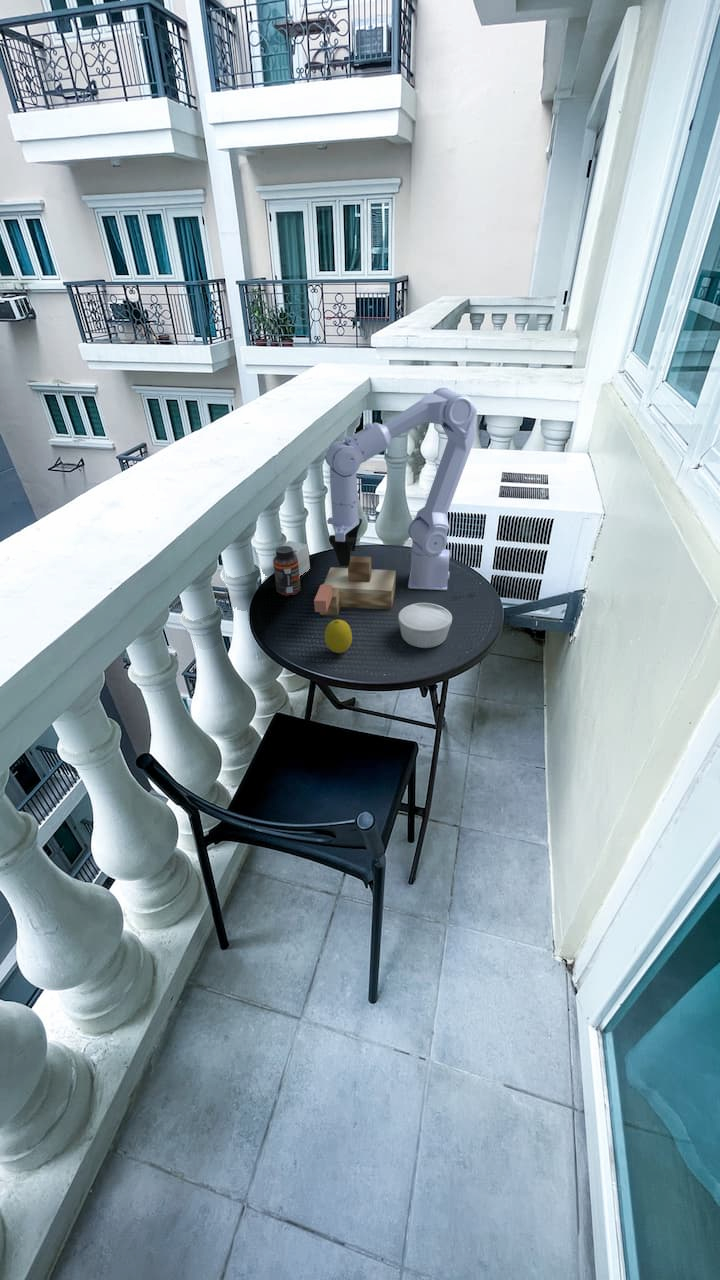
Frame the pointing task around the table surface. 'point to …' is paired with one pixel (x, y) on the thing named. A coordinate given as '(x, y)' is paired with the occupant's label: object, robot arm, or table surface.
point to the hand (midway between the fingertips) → (347, 557)
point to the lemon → (338, 636)
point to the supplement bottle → (286, 571)
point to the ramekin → (424, 624)
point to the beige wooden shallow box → (359, 601)
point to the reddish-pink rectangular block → (323, 598)
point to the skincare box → (300, 555)
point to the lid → (361, 577)
